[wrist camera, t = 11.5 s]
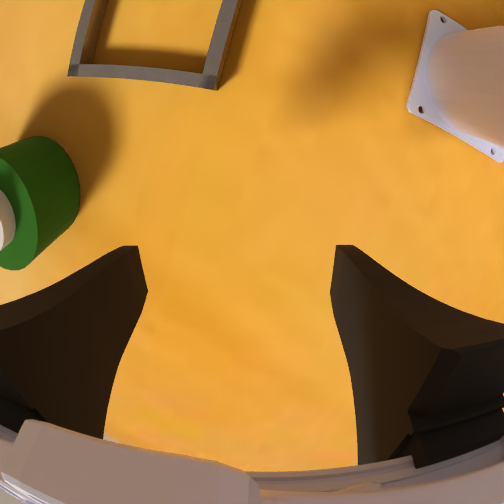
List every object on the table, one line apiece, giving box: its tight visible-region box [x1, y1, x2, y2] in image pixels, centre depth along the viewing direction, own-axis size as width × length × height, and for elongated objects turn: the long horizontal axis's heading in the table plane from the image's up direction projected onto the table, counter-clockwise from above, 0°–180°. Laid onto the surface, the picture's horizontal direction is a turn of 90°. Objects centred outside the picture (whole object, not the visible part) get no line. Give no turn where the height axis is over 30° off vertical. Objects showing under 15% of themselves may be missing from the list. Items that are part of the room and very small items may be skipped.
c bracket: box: [68, 0, 242, 90], centre depth 13 cm, size 10×10×2 cm
